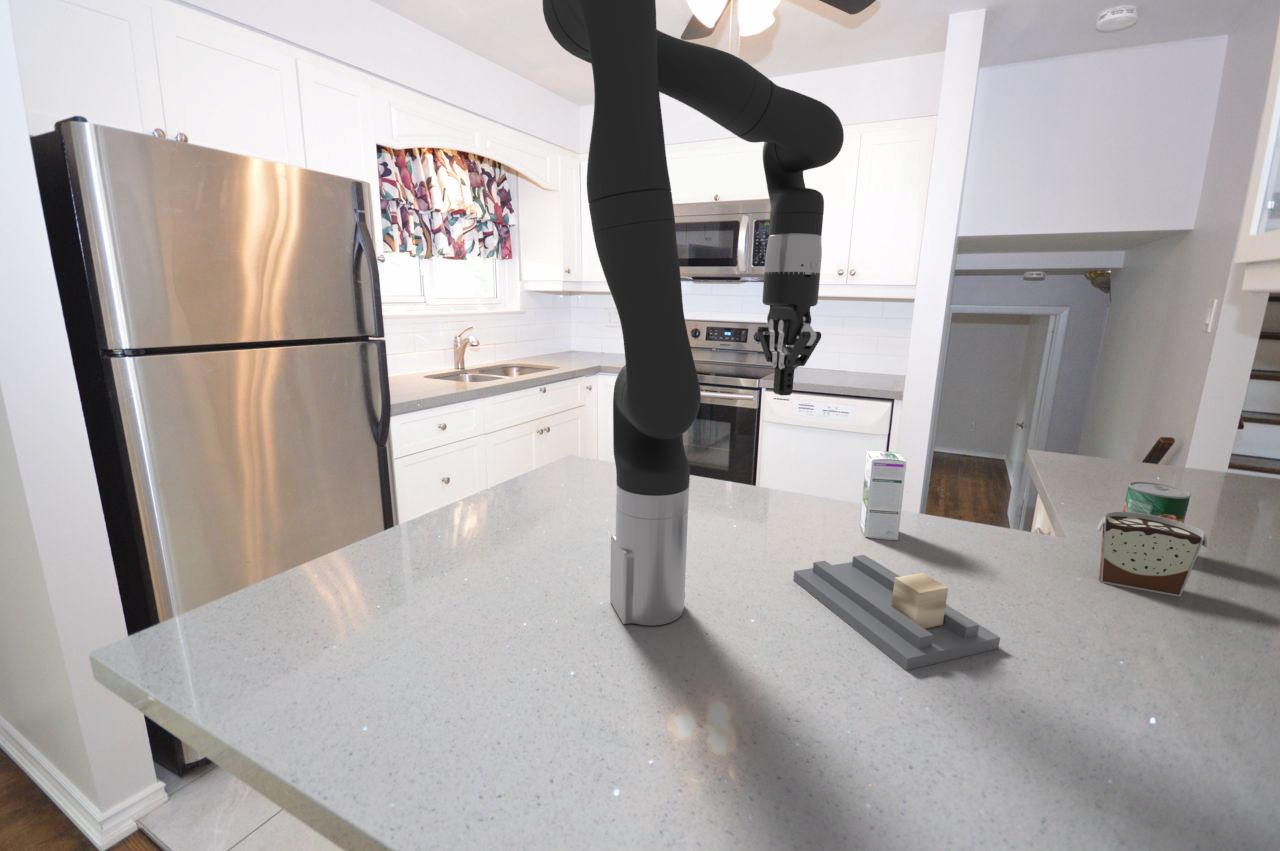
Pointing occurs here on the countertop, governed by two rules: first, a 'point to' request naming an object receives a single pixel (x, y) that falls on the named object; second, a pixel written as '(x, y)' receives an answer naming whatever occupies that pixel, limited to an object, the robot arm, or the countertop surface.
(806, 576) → the grey rail board
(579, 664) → the countertop surface
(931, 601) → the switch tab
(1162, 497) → the canned tomato
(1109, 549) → the food container
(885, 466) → the syrup box
